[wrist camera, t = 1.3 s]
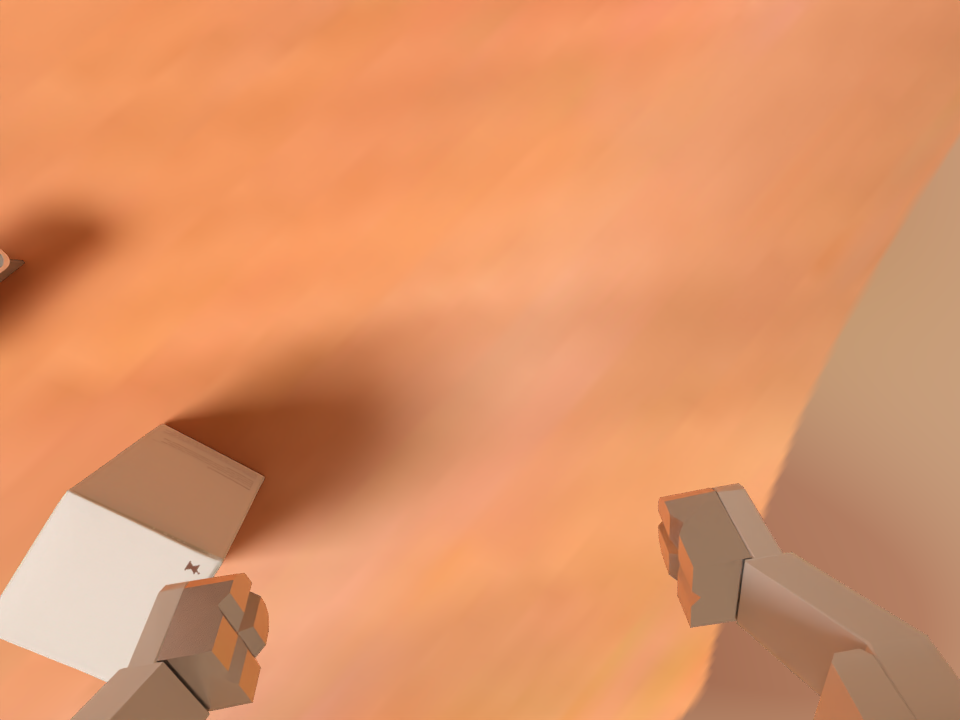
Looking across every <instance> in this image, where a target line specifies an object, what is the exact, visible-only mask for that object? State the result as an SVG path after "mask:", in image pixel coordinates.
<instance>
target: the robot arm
mask: <svg viewBox="0 0 960 720" xmlns="http://www.w3.org/2000/svg"><path fill="white" fill-rule="evenodd" d="M658 511H659V514H660V516H661V519H662V522H661V523H660V525H659V526H658V533H659V542H660V548H661V552H662V556H663V559H664V562H665V565H666V568H667V570H668V573H669V575H671V576H672V577H673V578H675V579H676V580H677V581H678V587H677V596H678V598H679V601H680V603H681V606H682V608H683V611H684V613H685V615H686V618H687V620H688V623H689V625H690V628H691V627H698V626H705V625H712V624H719V623H726V622H733V621H737V624H738V625H739V626H740V627H741V628H742V629H744V630H745V631H746V632H747V633H748V634H750V635H751V636H752V637H753V638H754V639H755V640H756V641H757V642H759V643H760V644H761V645H762V646H763V647H764V648H765V649H766V650H768V651H769V652H770V653H771V654H772V655H773V656H775V657H776V658H777V659H778V660H779V661H780V662H781V663H782V664H784V665H785V666H786V667H787V668H788V669H789V670H790V671H792V672H793V673H794V674H795V675H796V676H797V677H798V678H800V679H801V680H802V681H803V682H804V683H805V684H807V685H808V686H809V687H810V688H811V689H812V690H813V691H814V692H816V693H817V694H818V695H819V696H820V700H819V704H818V707H817V710H816V713H815V716H814V719H813V720H960V679H959V678H958V676H957V675H956V674H955V672H954V671H953V670H952V668H951V667H950V666H949V664H948V663H947V662H946V660H945V659H944V657H943V656H942V654H941V653H940V652H939V650H938V649H937V648H936V646H935V645H934V644H933V642H932V641H931V640H930V638H929V637H928V635H926V634H924V633H923V632H921V631H919V630H918V629H916V628H915V627H913V626H911V625H909V624H908V623H906V622H905V621H903V620H901V619H900V618H898V617H897V616H895V615H893V614H892V613H890V612H889V611H887V610H885V609H884V608H882V607H880V606H878V605H877V604H875V603H874V602H872V601H871V600H869V599H867V598H865V597H864V596H863V595H861V594H859V593H858V592H856V591H854V590H853V589H851V588H849V587H848V586H846V585H845V584H843V583H841V582H840V581H838V580H836V579H835V578H833V577H832V576H830V575H828V574H827V573H825V572H823V571H822V570H820V569H819V568H817V567H815V566H813V565H812V564H810V563H809V562H807V561H806V560H804V559H802V558H801V557H799V556H797V555H796V554H794V553H793V552H788V553H783V551H782V550H781V548H780V546H779V545H778V543H777V541H776V540H775V538H774V537H773V535H772V533H771V532H770V530H769V528H768V527H767V525H766V523H765V522H764V520H763V518H762V517H761V515H760V513H759V512H758V510H757V508H756V507H755V505H754V504H753V502H752V500H751V499H750V497H749V495H748V494H747V492H746V490H745V489H744V487H743V486H741V485H740V484H739V483H737V484H731V485H726V486H720V487H715V488H706V489H701V490H696V491H691V492H685V493H680V494H675V495H670V496H665V497H660V499H659V501H658ZM251 585H252V582H251V581H250V580H249V578H248V577H247V575H246V574H245V573H240V574H233V575H226V576H220V577H213V578H206V579H200V580H193V581H187V582H181V583H175V584H169V585H165V586H164V587H163V588H162V589H161V591H160V592H159V593H158V595H157V597H156V600H155V602H154V604H153V607H152V609H151V612H150V614H149V617H148V619H147V621H146V624H145V626H144V629H143V631H142V633H141V636H140V638H139V641H138V643H137V645H136V648H135V650H134V653H133V655H132V658H131V660H130V662H129V665H128V667H127V668H122V669H119V670H118V671H117V672H116V673H115V674H114V675H113V676H112V678H111V679H110V680H109V681H108V682H107V683H106V684H105V685H104V686H103V687H102V688H101V689H100V690H99V691H98V692H97V693H96V694H95V695H94V696H93V697H92V698H91V699H90V700H89V701H88V702H87V703H86V704H85V705H84V706H83V707H82V708H81V709H80V710H79V711H78V712H77V713H76V714H75V715H74V716H73V717H72V718H71V719H70V720H206V718H207V717H208V716H209V712H208V711H213V710H218V709H223V708H228V707H233V706H238V705H243V704H248V703H253V699H254V695H255V690H256V686H257V682H258V677H259V673H260V669H261V667H260V665H259V663H258V661H257V660H256V658H255V657H256V656H257V655H258V654H259V653H260V651H261V650H262V649H263V648H264V646H265V645H266V641H267V637H268V632H269V616H268V611H267V608H266V604H265V603H264V601H263V599H262V598H261V596H259V595H256V594H254V593H252V592H250V589H251Z"/></svg>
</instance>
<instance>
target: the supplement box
mask: <svg viewBox="0 0 960 720" xmlns="http://www.w3.org/2000/svg"><path fill="white" fill-rule="evenodd" d="M264 479H265V477H264V476H263V475H261V474H259V473H257V472H255V471H253V470H251V469H249V468H248V467H246V466H244V465H242V464H240V463H238V462H236V461H234V460H232V459H230V458H229V457H227V456H225V455H223V454H221V453H219V452H217V451H215V450H213V449H211V448H209V447H207V446H205V445H204V444H202V443H200V442H198V441H196V440H194V439H192V438H190V437H188V436H186V435H184V434H182V433H180V432H179V431H177V430H175V429H172V428H170V427H169V426H167V425H164V424H161V425H159V426H158V427H156V428H155V429H153V430H152V431H150V432H149V433H148V434H146V435H145V436H143V437H142V438H141V439H139V440H138V441H137V442H135V443H134V444H132V445H131V446H130V447H128V448H127V449H125V450H124V451H123V452H121V453H120V454H118V455H117V456H116V457H114V458H113V459H112V460H110V461H109V462H107V463H106V464H105V465H103V466H102V467H100V468H99V469H98V470H96V471H95V472H94V473H92V474H91V475H89V476H88V477H86V478H85V479H84V480H82V481H81V482H79V483H78V484H77V485H75V486H74V487H72V488H71V489H69V490H68V491H67V492H66V493H65V495H64V496H63V497H62V499H61V500H60V502H59V503H58V505H57V506H56V508H55V509H54V511H53V513H52V514H51V516H50V517H49V519H48V520H47V522H46V524H45V525H44V527H43V529H42V530H41V532H40V533H39V535H38V536H37V538H36V540H35V541H34V543H33V544H32V546H31V548H30V549H29V551H28V552H27V554H26V556H25V557H24V559H23V560H22V562H21V564H20V565H19V567H18V569H17V570H16V572H15V573H14V575H13V577H12V578H11V580H10V582H9V583H8V585H7V586H6V588H5V590H4V591H3V593H2V594H1V596H0V639H3V640H5V641H8V642H10V643H13V644H15V645H18V646H20V647H23V648H25V649H28V650H30V651H33V652H35V653H38V654H40V655H42V656H45V657H47V658H50V659H52V660H55V661H57V662H60V663H62V664H65V665H68V666H70V667H73V668H75V669H78V670H80V671H82V672H85V673H87V674H89V675H92V676H94V677H96V678H98V679H101V680H103V681H105V682H108V681H109V680H110V679H111V678H112V676H113V675H114V674H115V673H116V672H117V671H118V670H119V669H122V668H127V667H128V665H129V662H130V660H131V658H132V655H133V653H134V650H135V648H136V645H137V643H138V641H139V638H140V636H141V633H142V631H143V629H144V626H145V624H146V621H147V619H148V617H149V614H150V612H151V609H152V607H153V604H154V602H155V600H156V597H157V595H158V593H159V592H160V591H161V589H162V588H163V587H164V586H165V585H169V584H175V583H181V582H187V581H193V580H200V579H206V578H213V577H214V576H215V574H216V572H217V571H218V569H219V568H220V566H221V565H222V563H223V561H224V559H225V557H226V555H227V553H228V551H229V549H230V547H231V545H232V543H233V541H234V539H235V537H236V535H237V533H238V531H239V529H240V527H241V525H242V523H243V521H244V519H245V517H246V515H247V513H248V511H249V509H250V507H251V505H252V503H253V500H254V498H255V496H256V494H257V492H258V490H259V488H260V486H261V484H262V483H263V481H264Z"/></svg>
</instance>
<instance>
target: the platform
mask: <svg viewBox="0 0 960 720" xmlns="http://www.w3.org/2000/svg"><path fill="white" fill-rule="evenodd" d="M24 263H25V262H24V261H23V260H13V259H9V257H8V256H7V254H6V253H5V252H3V251H2V250H1V249H0V282H2V281H3V280H4V279H5V278H7V277H8V276H9V275H10V274H12V273H13V272H14V271H15V270H17V269H18V268H19V267H20V266H22V265H23V264H24Z"/></svg>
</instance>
